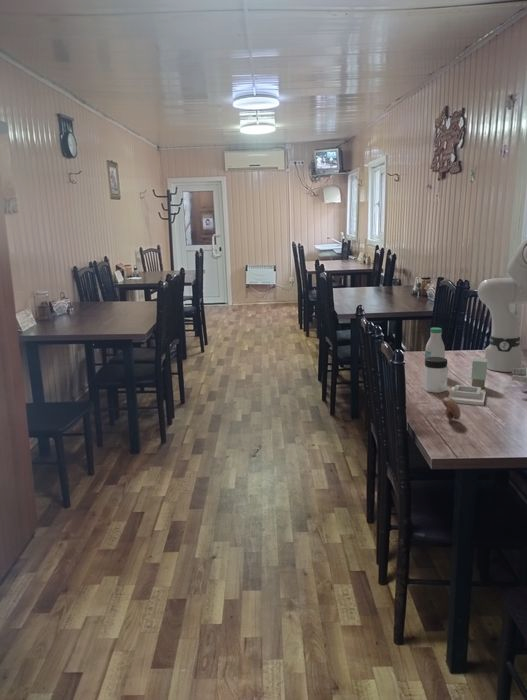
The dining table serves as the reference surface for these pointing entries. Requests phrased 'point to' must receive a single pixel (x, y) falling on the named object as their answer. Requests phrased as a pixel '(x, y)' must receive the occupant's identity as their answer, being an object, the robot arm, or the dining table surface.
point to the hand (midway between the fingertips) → (512, 374)
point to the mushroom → (451, 408)
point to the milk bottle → (435, 344)
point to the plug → (479, 372)
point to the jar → (435, 374)
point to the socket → (468, 395)
